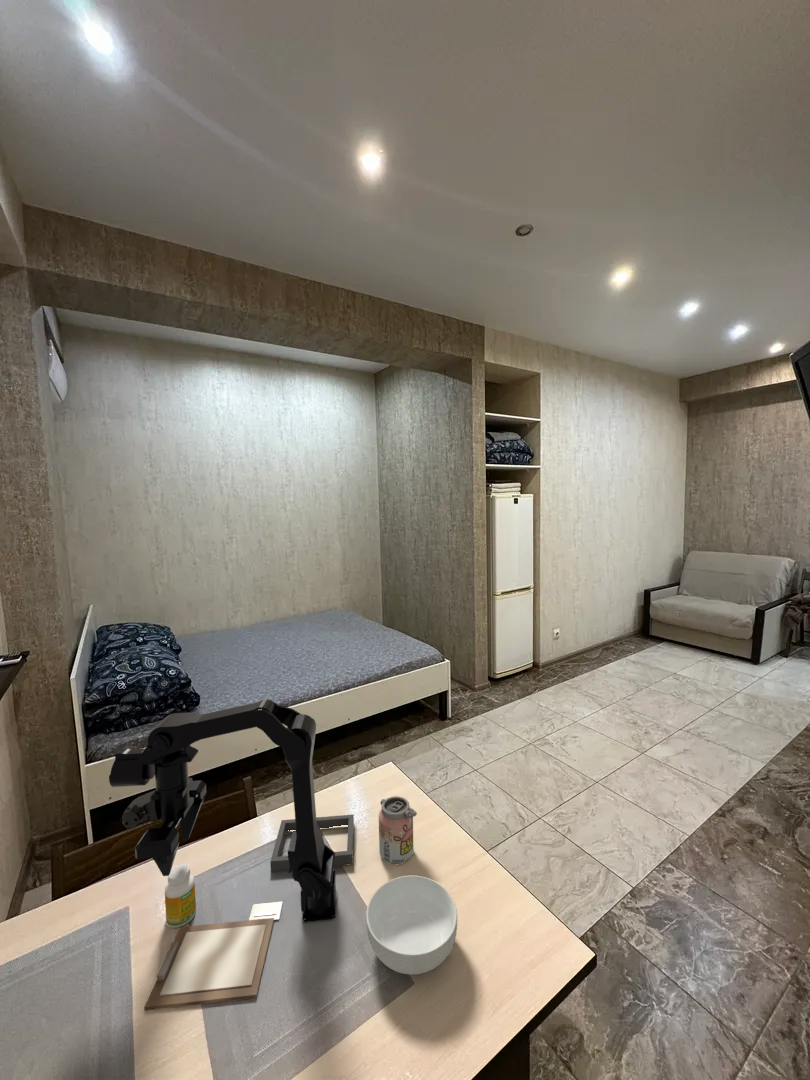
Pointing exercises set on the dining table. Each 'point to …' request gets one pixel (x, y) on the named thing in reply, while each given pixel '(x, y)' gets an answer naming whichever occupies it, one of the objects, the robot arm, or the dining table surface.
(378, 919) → the cereal bowl
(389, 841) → the beverage can
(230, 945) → the clipboard
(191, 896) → the supplement bottle
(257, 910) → the letter card
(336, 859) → the empty rectangular frame
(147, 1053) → the dining table surface
